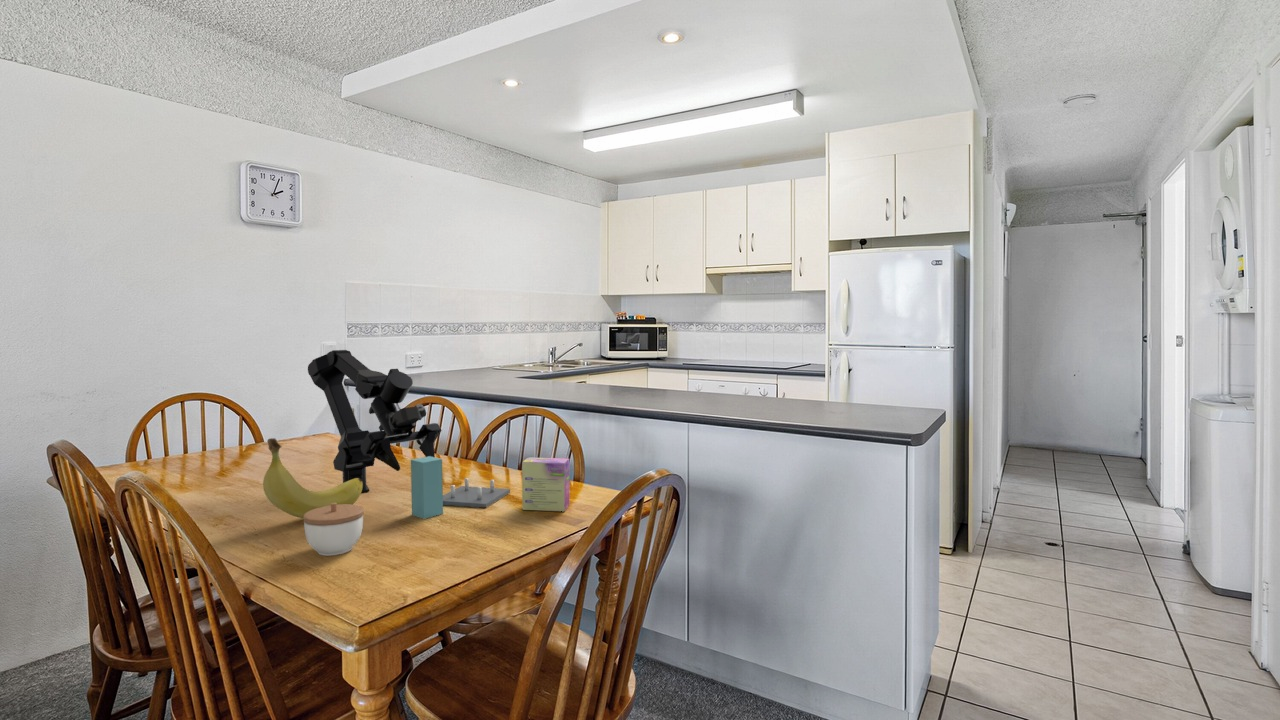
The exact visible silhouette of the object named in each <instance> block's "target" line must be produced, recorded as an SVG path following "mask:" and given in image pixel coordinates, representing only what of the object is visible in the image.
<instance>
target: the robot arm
mask: <svg viewBox="0 0 1280 720" xmlns="http://www.w3.org/2000/svg"><path fill="white" fill-rule="evenodd" d="M307 373H308V375H309V377H310V379H311V380H312V382H313V384H314V385H315V386H316V387H318V388H319V389H320V390H322V391H323V393H324V395H325V398H326V401H327V403H328V405H329V408H330V413H331V414H332V417H333V419H334V422H335V425H336V427H337V430H338V433H339V435H340V439H339V443H338V446H337V450H338V452H337V453H336V456H335V457H334V459H333V461H332V462H333V468H334V470H336V471H338V472H339V471H340V472H342V483H344V482H347V481H349V480H352V479H354V478H360V479H361V480H362V482H363V487H362V492H361V493H367V492H370V488H369V486H368V485H367V467H374V465H375V461H376V459H377V460H378V461H380V462H382V463H384V464H386V465H387V466H389V467H390V468H391V469H393V470H395V471H397V472H399V471H400V470H401V466H400V464H399V461H398V458H396V455H395V454H394V452H393V450H392V447H391V444H401V443H406V442H413V441H416V443H417V445H419V450H420V451H421V452H422V454H423V455H424V457H428V456H431V457H435V458H436V454H435V442H436V439H438V437H439V435H440V434H441V432H442V428H441V427H440V425H439V423H434V422H432V423H427V424H422V425H421V427H420V429H419V430H418V431H413V429H415V428H416V426H417V425H416V423H417V422H418V421H421V420H422V419H423V418H424V417H426V415H427V412H426V408H425V407H424V405H423V404H422V403H419V404H415V405H413V406H409V407H403V408H401V407H400V405H399V404H401V403H402V402H403V401H405V398H406V396H408V395H407V394H408V393H409V391H410V389H411V387H413V381H414V380H413V378H412V377H411V376H409V375H408V374H407V373H405V372H402V371H400V370H399V368H390V369H389V370H388V373H387V374H386V373H383V372H380V371H377V370H376V371H375V370H371V369H370V368H368V367H367V366H366V365H364V364H363V362H361V361H360V360H359V359H357V358H356V357H355V356H353V354H352V353H351V351H350V350H347V349H334V350H333V349H332V350H331V351H329V352H327V353H325V354H324V355H321V356H319V357H316V358H314V359H312V361H310V363H308V365H307ZM345 376H346V377H348V379H349V380H351V381H352V383H354V384H355V388H354V389H355V391H356V393H357V394H358V395H359V396H360V397H361V399H364V400H367V399H373V400H372V402H371V403H370V407H369V410H368V413H369V414H370V415H374V414H375V416H376V418H377V420H378V422H379V427H378V429H379V431H377V430H376V431H372V432H370V431H369V430H368V429H367V430H362V428H360V427H359V423H358V421H357V419H356V416H355V414H354V411H353V409H352V408H353V407H352V405H351V403H350V401H349V398H348V395H347V392H346V391H345V387H344V385H343V382H344V379H345Z"/></svg>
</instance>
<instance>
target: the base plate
mask: <svg viewBox="0 0 1280 720" xmlns="http://www.w3.org/2000/svg"><path fill="white" fill-rule="evenodd" d="M489 483H490V484H489V485H490V487H483V486H470V485H469V478H467V477H465V478H464V486H463V485H461V486H458V487H456V485H455V484H451V485H450V491H449V492H447V493H445V494H443V506H450V505H456V506H455V507H464V506H471V507H470V508H479V507H487V506H489V505H490V506H492V505H493V504H495V503H496V502H495V501H497V500H498V501H500V500H501V499H503V498H505V497H506V496H508V495H509V494H511V489H510V488H497V487H495V479H490V480H489ZM508 493H509V494H508ZM507 494H508V495H507ZM505 495H506V496H505ZM502 497H503V498H502ZM500 498H501V499H500ZM499 499H500V500H499ZM498 501H497V502H498ZM494 502H495V503H494ZM492 503H493V504H492ZM491 504H492V505H491ZM490 506H489V507H490ZM487 508H488V507H487Z"/></svg>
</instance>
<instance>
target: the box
mask: <svg viewBox="0 0 1280 720" xmlns="http://www.w3.org/2000/svg"><path fill="white" fill-rule="evenodd" d="M521 464H522V466H521V467H522V469H521V470H522V472H521V474H522V477H521V479H522V480H521V483H522V484H521V486H522V487H521V488H522V489H521V493H522V494H521V497H522V499H521V500H522V501H521V502H522V504H521V505H522V510H523V511H544V512H545V511H547V512H561V511H562V513H563V512H564V513H565V512H566V510H567V509H568V508H569V507H570V476H571V474H570V466H571V465H570V458H565V457H564V458H563V457H562V458H561V457H560V458H559V457H534V456H533V457H532V456H531V457H530V456H529V457H526V459H524V460H523V461H522V463H521Z"/></svg>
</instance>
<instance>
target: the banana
mask: <svg viewBox="0 0 1280 720" xmlns="http://www.w3.org/2000/svg"><path fill="white" fill-rule="evenodd" d="M267 445H268V450H269V451H270V452H271V455H272V456H271V457H272V458H271V463H270V464H269V467H268V469H267V470H266V472H265V474H264V477H263V482H262V487H263V492H264V494H265V496H266V498H267V500H268V501H269V502H270V504H272V505H273V506H275V508H277V509H279V510H281V511H282V512H283V513H286V514H287V515H290V516H292V517H295V518H299V519H303V516H304V514H305V513H306V512H308V511H310V510H313V509H316V508H320V507H324V506H330V505H331V504H332V503H337V505H340V504H351V505H355V503H357V501H358V499H359V498H360V496H361V493H363V492H362V487H363V482H362V480H361V479H360V478H354V479H352V480H349V481H347V482H344V483H343V482H342V483H340V484H338V485H337V486H334V487H332V488H330V489H329V488H328V489H325V490H321V491H320V490H319V491H313V490H312V491H311V490H309V489H307V488H305V487H303V486H302V485H301V484H299V482H298V481H297V480H296V479H295V477H293V475H292V474H291V473H290V471H289V470H288V469H287V468H286V466H284V464H283V463H282V461H281V458H280V449H281V448H282V445H281V444H280V443H279V442H278V441H277V439H276V438H275V437H274V438H273V437H272V438H268V439H267Z"/></svg>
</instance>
